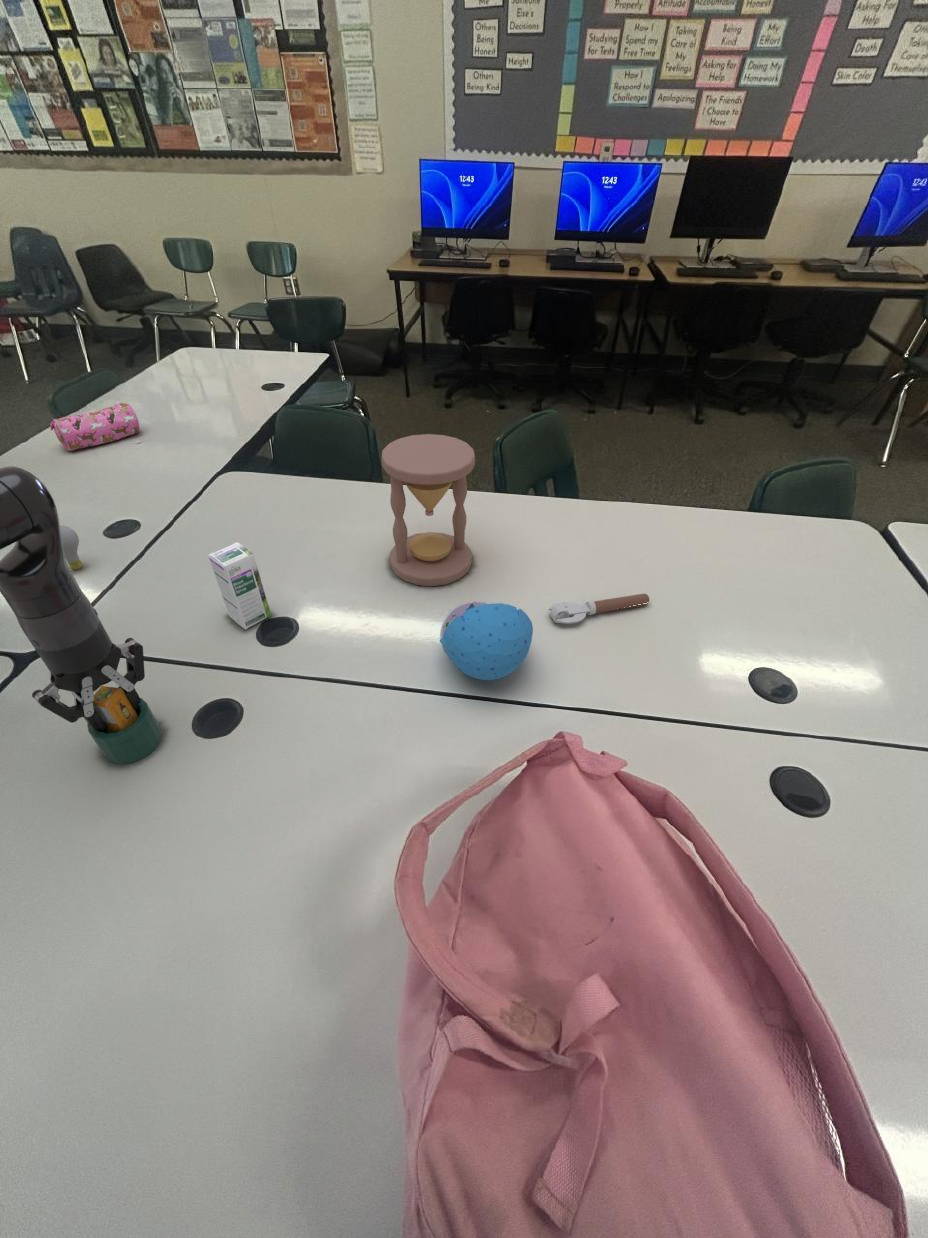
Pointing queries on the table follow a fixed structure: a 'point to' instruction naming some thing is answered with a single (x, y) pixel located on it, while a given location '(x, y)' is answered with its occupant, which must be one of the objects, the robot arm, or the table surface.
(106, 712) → the supplement box
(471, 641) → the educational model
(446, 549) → the hourglass
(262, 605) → the syrup box
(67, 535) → the light bulb
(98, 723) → the robot arm
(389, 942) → the table surface
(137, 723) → the green pipe cap
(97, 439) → the pencil case
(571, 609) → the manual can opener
